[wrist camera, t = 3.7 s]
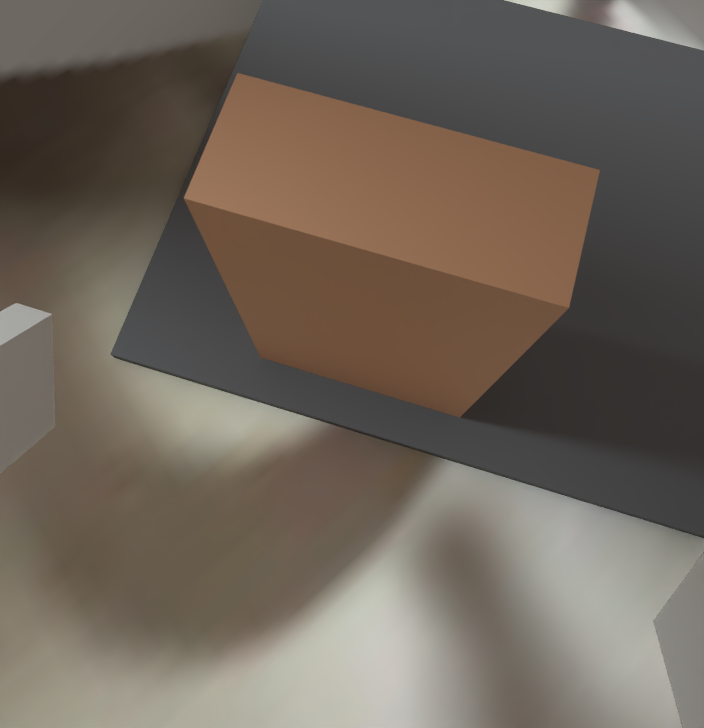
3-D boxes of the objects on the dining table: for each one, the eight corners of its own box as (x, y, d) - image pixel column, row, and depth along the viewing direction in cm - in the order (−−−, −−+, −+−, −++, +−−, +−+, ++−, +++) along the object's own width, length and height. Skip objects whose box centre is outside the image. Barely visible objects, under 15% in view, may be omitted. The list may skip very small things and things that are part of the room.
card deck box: (260, 357, 22) (183, 198, 12) (286, 284, 23) (237, 72, 12) (459, 417, 22) (569, 308, 11) (479, 340, 23) (599, 170, 12)
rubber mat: (114, 357, 23) (110, 354, 22) (287, -47, 28) (286, -55, 27) (705, 538, 21) (712, 538, 21) (772, 76, 26) (778, 69, 26)
